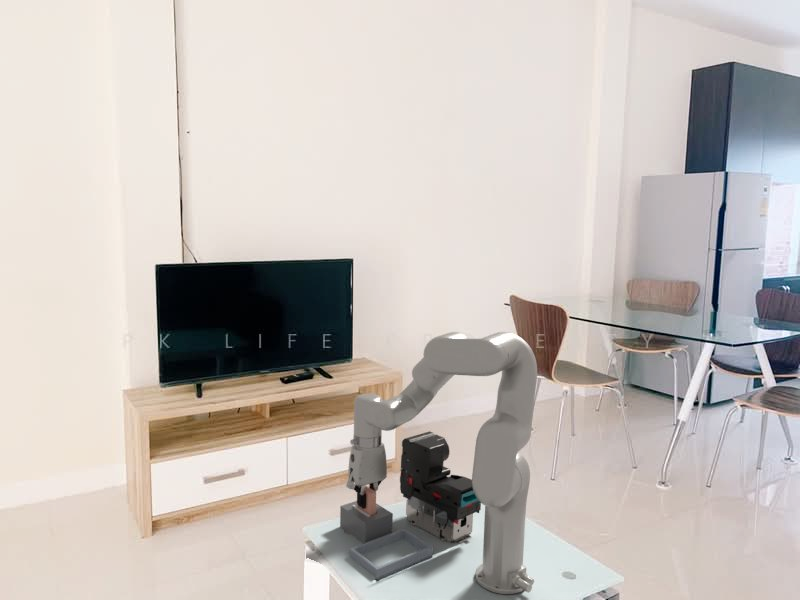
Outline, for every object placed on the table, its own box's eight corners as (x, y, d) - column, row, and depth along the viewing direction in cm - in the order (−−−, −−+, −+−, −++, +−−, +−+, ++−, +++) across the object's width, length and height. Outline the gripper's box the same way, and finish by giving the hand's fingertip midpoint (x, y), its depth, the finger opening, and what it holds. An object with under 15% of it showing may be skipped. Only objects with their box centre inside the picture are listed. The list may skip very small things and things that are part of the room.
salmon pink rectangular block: (375, 533, 163) (376, 491, 162) (369, 536, 162) (370, 493, 161) (362, 525, 168) (363, 484, 166) (356, 527, 167) (357, 485, 165)
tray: (432, 557, 154) (432, 546, 154) (376, 581, 143) (377, 569, 143) (403, 538, 163) (404, 528, 163) (349, 559, 152) (349, 548, 152)
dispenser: (392, 538, 163) (392, 512, 162) (365, 548, 158) (365, 521, 157) (366, 520, 173) (367, 496, 172) (340, 529, 167) (340, 504, 166)
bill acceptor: (457, 552, 157) (461, 460, 154) (397, 520, 173) (399, 437, 170) (483, 539, 164) (486, 450, 161) (422, 509, 180) (425, 429, 177)
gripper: (350, 450, 154) (349, 518, 156) (399, 438, 164) (398, 502, 166) (334, 442, 160) (333, 508, 162) (383, 430, 170) (381, 492, 172)
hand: (366, 504), depth 164 cm, fingers open, 2 cm apart
